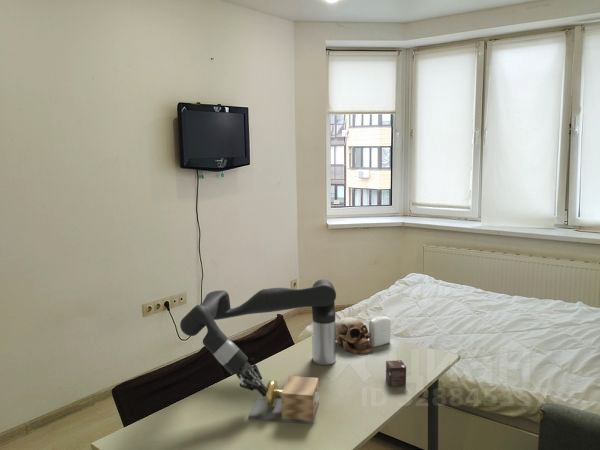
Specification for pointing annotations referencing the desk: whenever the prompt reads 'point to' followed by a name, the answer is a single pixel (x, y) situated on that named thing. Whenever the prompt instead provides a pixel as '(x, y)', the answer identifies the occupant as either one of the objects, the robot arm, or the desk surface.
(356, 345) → the skull
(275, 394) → the shaft
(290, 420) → the bearing block
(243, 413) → the desk surface
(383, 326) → the photo printer
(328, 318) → the robot arm
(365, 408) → the desk surface
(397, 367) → the box
